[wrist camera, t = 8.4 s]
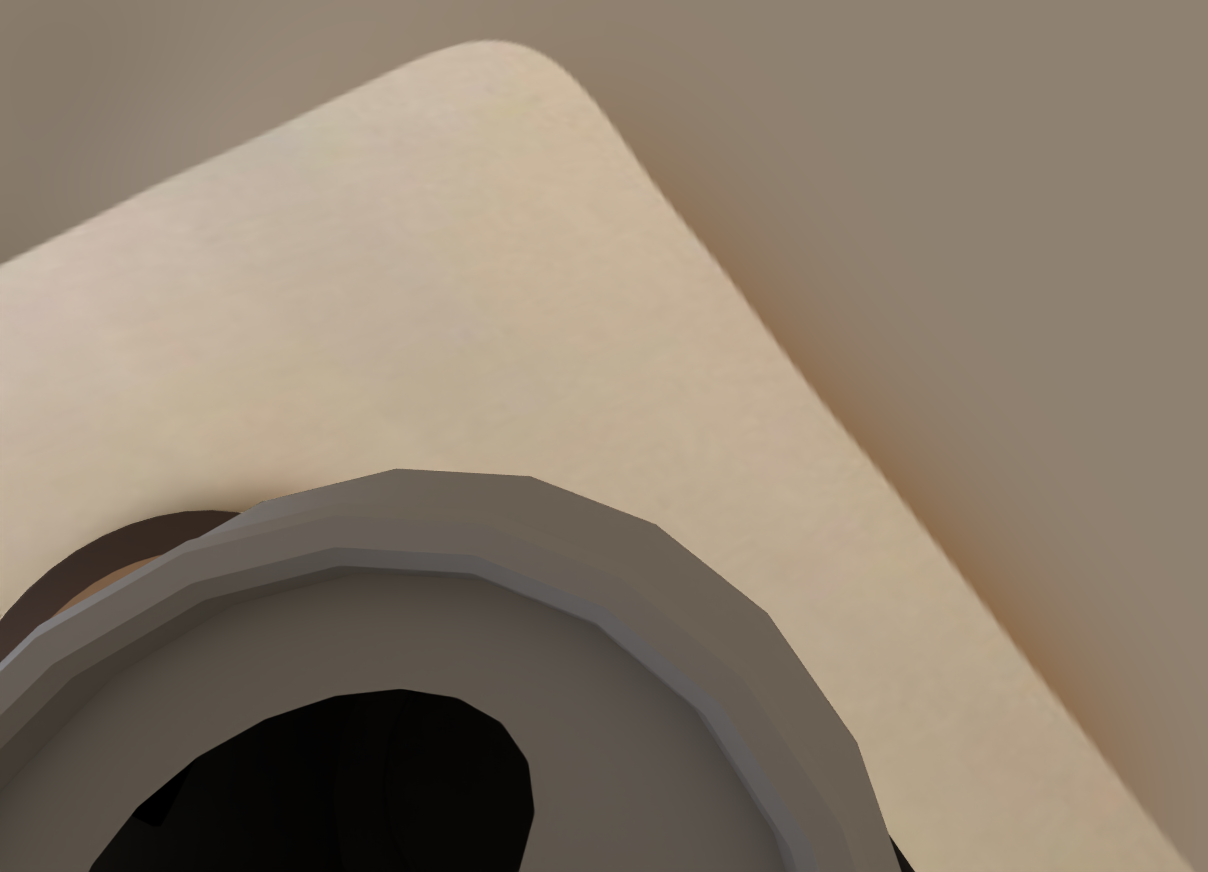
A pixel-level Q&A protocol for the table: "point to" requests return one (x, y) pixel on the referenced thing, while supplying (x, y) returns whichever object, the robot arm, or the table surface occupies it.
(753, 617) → the can
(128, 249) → the table surface
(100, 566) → the coaster
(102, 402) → the table surface
